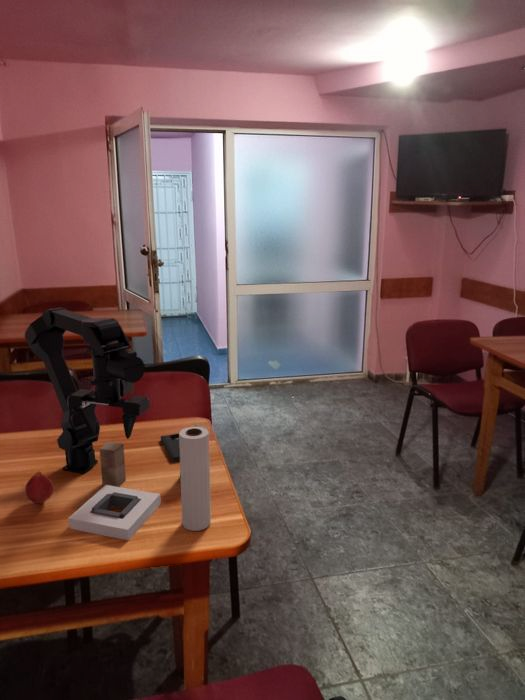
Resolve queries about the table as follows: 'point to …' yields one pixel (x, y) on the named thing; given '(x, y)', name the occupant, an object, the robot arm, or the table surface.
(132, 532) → the collar block
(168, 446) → the vhs tape
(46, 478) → the onion
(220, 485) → the table surface
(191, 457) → the paper towel roll
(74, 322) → the robot arm
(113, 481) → the walnut peg
